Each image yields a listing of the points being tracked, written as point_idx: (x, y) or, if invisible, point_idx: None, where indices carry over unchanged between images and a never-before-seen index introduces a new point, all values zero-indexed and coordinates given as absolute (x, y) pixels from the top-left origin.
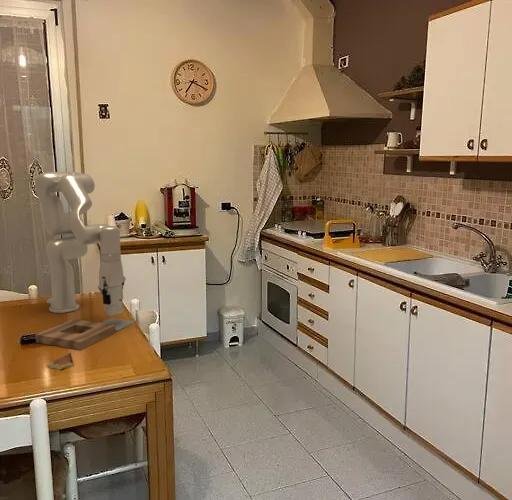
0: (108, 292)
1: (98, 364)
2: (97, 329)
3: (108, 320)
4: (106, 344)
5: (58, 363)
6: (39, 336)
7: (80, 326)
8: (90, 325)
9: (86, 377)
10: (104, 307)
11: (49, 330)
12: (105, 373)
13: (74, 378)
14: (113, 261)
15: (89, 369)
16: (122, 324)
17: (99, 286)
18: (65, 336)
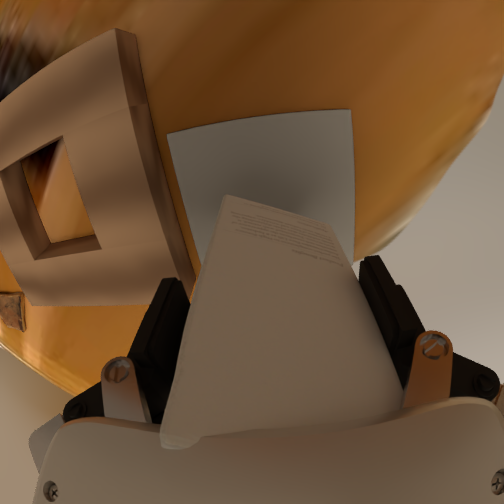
0: (159, 417)
1: (62, 358)
2: (102, 277)
3: (306, 127)
4: (109, 320)
5: (2, 316)
6: None
7: (75, 166)
8: (102, 210)
9: (40, 363)
10: (218, 215)
11: None
12: (65, 378)
13: (26, 352)
14: None
15: (47, 355)
16: None
17: (42, 453)
18: (6, 236)
